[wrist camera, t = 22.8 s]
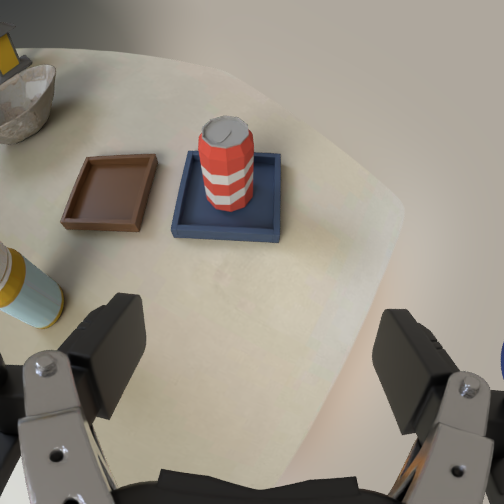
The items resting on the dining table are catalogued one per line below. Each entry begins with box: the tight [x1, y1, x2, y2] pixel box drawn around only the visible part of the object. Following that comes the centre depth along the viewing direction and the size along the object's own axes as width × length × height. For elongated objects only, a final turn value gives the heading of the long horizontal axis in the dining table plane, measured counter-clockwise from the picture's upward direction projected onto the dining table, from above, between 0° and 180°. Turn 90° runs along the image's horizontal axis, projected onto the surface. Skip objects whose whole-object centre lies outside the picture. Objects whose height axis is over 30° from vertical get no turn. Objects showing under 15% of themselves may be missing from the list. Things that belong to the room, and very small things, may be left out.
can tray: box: [171, 151, 281, 243], centre depth 43 cm, size 14×14×2 cm
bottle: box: [0, 242, 64, 329], centre depth 30 cm, size 7×7×15 cm
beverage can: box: [198, 116, 254, 212], centre depth 38 cm, size 6×6×12 cm
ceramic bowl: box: [0, 65, 56, 145], centre depth 49 cm, size 22×23×10 cm
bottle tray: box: [60, 154, 158, 232], centre depth 43 cm, size 12×12×2 cm
